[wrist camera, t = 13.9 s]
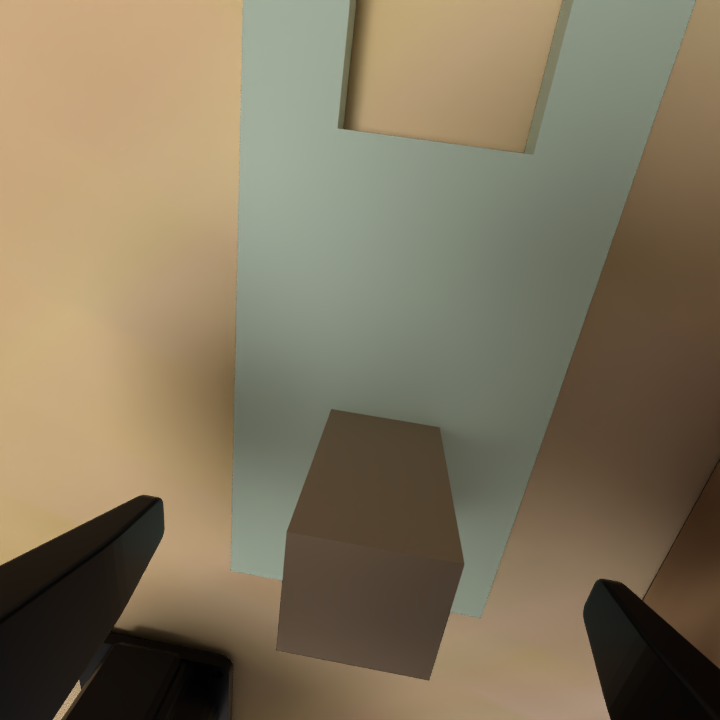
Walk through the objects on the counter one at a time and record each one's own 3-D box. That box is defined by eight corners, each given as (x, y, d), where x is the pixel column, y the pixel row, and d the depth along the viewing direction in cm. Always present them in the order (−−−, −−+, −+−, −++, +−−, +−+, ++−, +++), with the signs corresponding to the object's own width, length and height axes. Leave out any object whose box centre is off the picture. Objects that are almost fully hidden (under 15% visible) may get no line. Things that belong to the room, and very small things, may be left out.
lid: (476, 596, 14) (519, 812, 9) (239, 552, 14) (151, 734, 9) (739, -195, 7) (1643, -1294, 2) (265, -238, 7) (-35, -1241, 2)
